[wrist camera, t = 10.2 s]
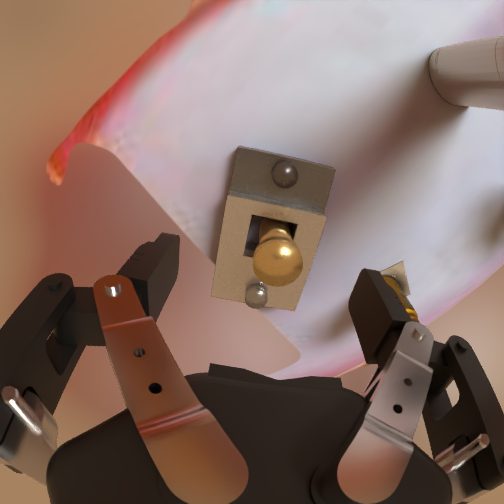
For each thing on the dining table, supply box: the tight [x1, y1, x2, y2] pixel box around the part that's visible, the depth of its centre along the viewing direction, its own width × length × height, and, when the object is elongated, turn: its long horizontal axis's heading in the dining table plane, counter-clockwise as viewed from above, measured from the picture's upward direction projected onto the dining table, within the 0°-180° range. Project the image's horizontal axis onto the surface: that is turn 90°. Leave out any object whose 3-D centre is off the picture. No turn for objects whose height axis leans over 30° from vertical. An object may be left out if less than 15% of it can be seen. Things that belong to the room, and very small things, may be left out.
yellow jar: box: [380, 261, 419, 323], centre depth 36 cm, size 7×8×12 cm
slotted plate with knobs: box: [211, 146, 336, 311], centre depth 35 cm, size 12×20×6 cm, turn 169°
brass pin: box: [253, 217, 303, 287], centre depth 33 cm, size 5×5×10 cm
